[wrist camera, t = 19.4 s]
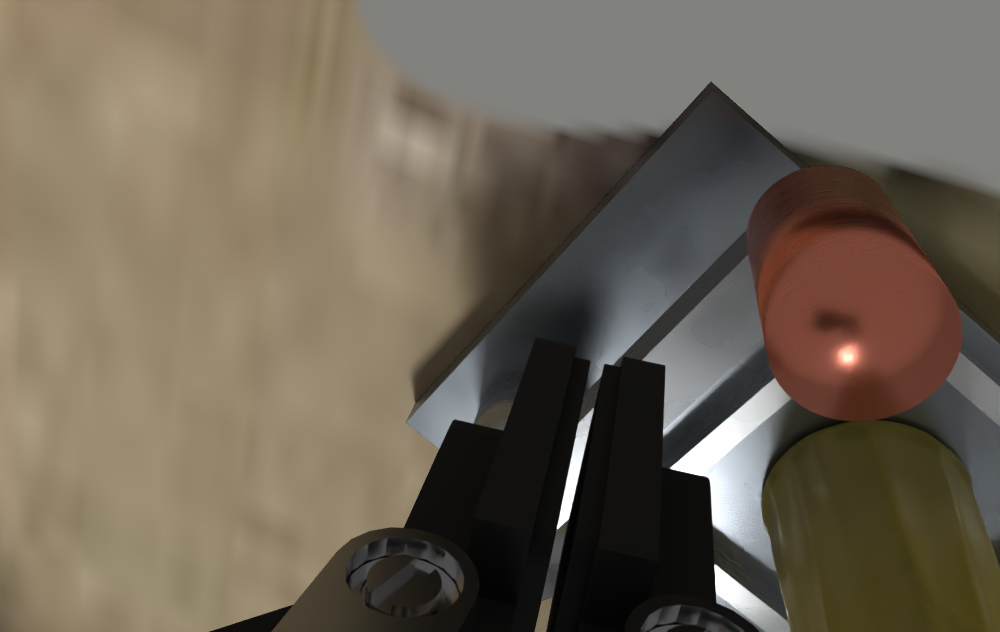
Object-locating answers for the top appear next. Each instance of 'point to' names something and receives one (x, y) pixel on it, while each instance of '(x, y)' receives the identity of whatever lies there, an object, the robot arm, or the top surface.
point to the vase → (879, 534)
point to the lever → (805, 312)
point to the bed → (746, 385)
